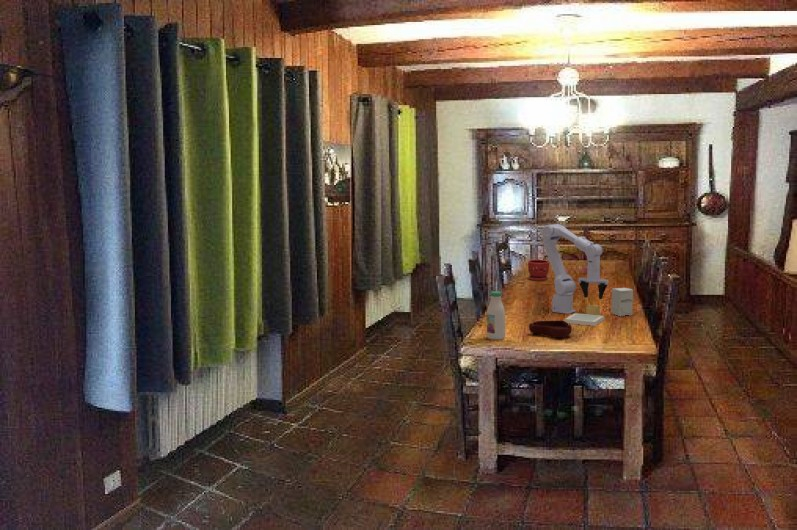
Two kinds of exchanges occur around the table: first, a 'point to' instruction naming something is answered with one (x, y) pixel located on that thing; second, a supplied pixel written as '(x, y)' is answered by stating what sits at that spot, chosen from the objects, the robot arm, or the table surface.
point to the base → (584, 319)
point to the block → (593, 310)
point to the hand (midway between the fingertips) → (593, 298)
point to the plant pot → (538, 269)
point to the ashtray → (551, 328)
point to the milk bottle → (495, 317)
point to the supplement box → (622, 301)
